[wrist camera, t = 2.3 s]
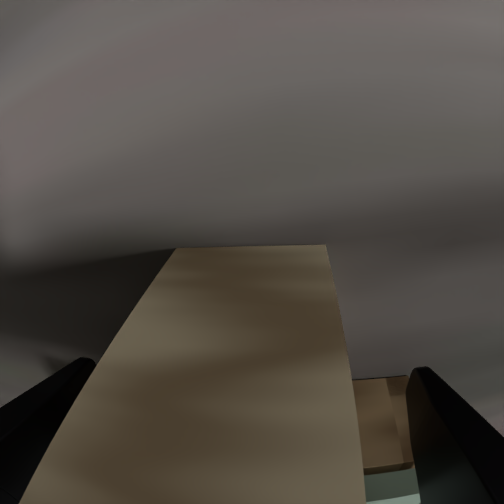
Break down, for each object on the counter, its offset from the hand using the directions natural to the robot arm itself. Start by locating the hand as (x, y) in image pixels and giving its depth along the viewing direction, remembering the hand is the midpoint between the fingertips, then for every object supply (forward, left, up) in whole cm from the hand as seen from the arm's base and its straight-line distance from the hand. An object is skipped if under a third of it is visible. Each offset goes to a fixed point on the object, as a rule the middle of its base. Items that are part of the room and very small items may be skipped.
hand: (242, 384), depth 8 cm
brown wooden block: (0, 0, -3) cm, 3 cm away
